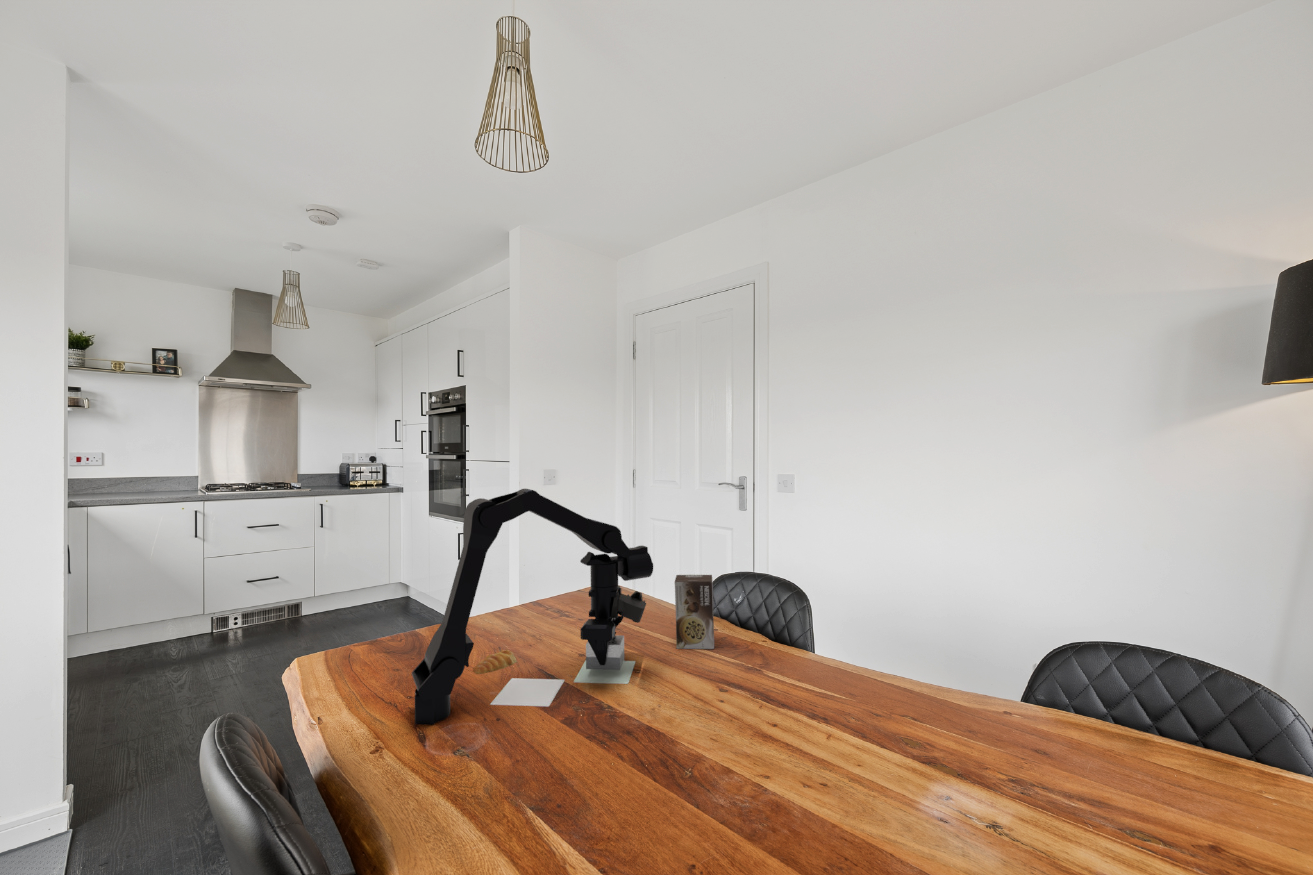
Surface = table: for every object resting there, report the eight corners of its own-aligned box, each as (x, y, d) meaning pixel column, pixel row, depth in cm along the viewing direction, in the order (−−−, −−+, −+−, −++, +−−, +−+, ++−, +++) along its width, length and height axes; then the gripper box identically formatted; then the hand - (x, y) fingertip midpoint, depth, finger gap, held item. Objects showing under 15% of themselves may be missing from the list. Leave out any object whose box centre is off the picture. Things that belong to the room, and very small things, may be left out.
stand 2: (628, 691, 107) (628, 683, 107) (573, 689, 108) (573, 682, 108) (635, 667, 118) (635, 661, 118) (585, 666, 119) (585, 659, 119)
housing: (620, 669, 110) (619, 645, 110) (586, 669, 111) (585, 644, 111) (624, 659, 116) (624, 635, 116) (591, 658, 116) (591, 634, 116)
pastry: (485, 685, 111) (484, 666, 111) (464, 677, 115) (464, 659, 115) (520, 668, 119) (520, 651, 119) (499, 662, 123) (499, 645, 123)
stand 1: (548, 714, 98) (548, 706, 98) (490, 712, 100) (489, 704, 100) (564, 687, 109) (564, 679, 109) (511, 685, 110) (511, 678, 110)
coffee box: (714, 639, 134) (713, 574, 134) (714, 649, 128) (713, 580, 128) (677, 639, 135) (676, 573, 135) (675, 649, 129) (674, 580, 129)
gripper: (637, 597, 103) (638, 679, 103) (647, 573, 122) (648, 643, 122) (579, 596, 104) (580, 678, 104) (598, 572, 123) (599, 642, 123)
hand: (605, 659), depth 113 cm, fingers closed on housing, 5 cm apart
